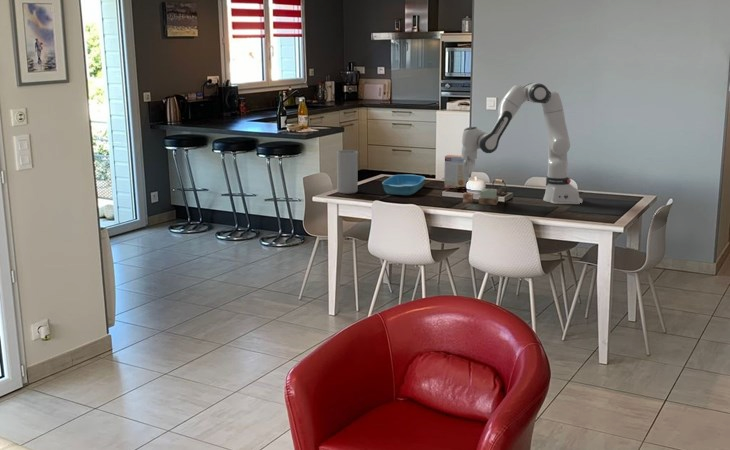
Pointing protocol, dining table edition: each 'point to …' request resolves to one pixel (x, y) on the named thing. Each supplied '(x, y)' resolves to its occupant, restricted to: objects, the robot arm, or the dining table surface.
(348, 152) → the cylinder vase
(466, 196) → the terracotta cube
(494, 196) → the sage block
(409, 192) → the casserole dish
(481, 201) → the walnut block
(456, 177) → the cracker box
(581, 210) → the dining table surface
